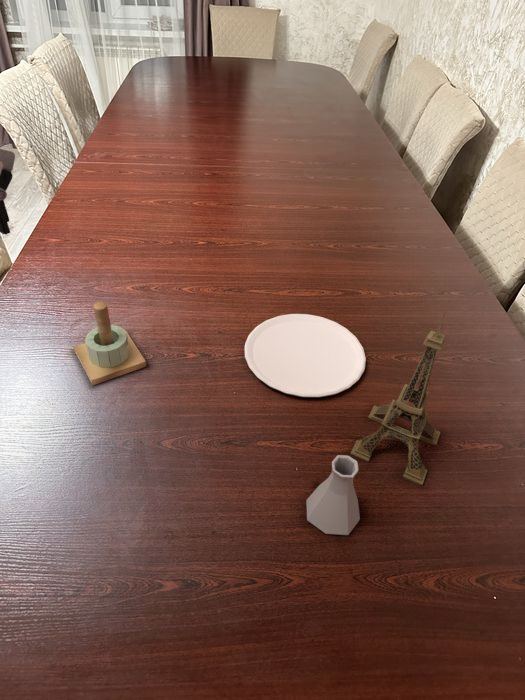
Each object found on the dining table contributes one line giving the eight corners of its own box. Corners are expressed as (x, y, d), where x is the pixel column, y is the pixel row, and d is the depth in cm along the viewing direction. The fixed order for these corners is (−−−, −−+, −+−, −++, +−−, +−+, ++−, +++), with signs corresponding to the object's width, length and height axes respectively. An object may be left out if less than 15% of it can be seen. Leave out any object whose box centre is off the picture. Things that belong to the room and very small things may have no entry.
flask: (353, 545, 65) (369, 501, 58) (298, 524, 66) (307, 480, 60) (365, 497, 70) (381, 452, 63) (313, 479, 71) (323, 433, 65)
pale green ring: (96, 372, 82) (93, 356, 80) (83, 348, 86) (79, 332, 84) (135, 359, 85) (132, 343, 83) (121, 336, 89) (118, 320, 86)
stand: (92, 385, 82) (80, 331, 74) (74, 351, 87) (61, 297, 80) (146, 366, 86) (139, 313, 78) (126, 334, 91) (118, 282, 84)
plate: (381, 395, 84) (383, 390, 83) (253, 406, 81) (254, 401, 80) (345, 315, 99) (346, 309, 98) (236, 321, 96) (236, 316, 95)
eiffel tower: (373, 406, 82) (413, 273, 65) (439, 433, 79) (500, 301, 62) (350, 454, 75) (388, 319, 58) (421, 485, 72) (484, 352, 55)
